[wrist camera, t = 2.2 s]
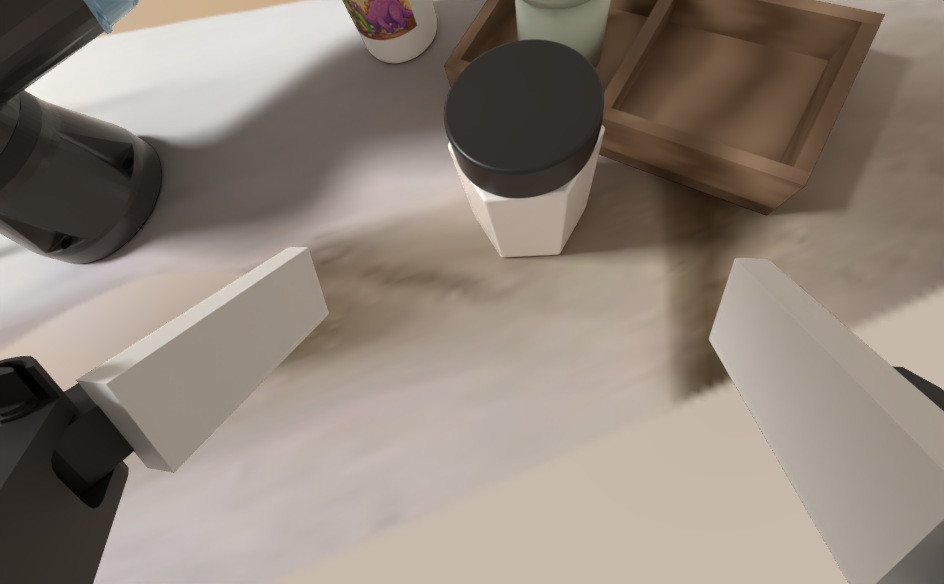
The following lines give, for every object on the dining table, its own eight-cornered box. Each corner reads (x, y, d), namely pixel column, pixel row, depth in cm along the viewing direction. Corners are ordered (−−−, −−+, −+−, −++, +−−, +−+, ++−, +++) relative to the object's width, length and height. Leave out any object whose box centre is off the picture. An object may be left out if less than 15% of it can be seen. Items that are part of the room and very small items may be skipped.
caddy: (455, 101, 34) (444, 65, 30) (527, -11, 36) (525, -58, 32) (766, 215, 26) (805, 185, 22) (838, 65, 28) (884, 14, 24)
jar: (605, 227, 28) (648, 118, 17) (514, 281, 28) (496, 209, 17) (542, 147, 31) (543, 6, 19) (460, 197, 31) (413, 86, 20)
